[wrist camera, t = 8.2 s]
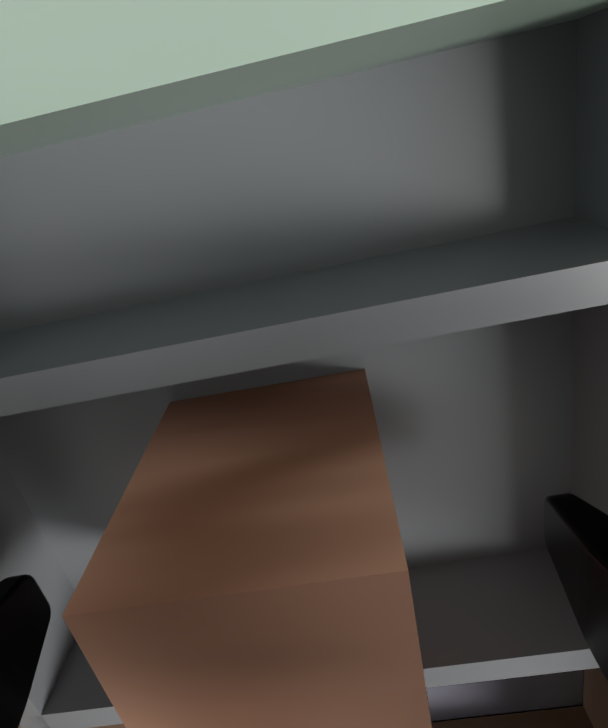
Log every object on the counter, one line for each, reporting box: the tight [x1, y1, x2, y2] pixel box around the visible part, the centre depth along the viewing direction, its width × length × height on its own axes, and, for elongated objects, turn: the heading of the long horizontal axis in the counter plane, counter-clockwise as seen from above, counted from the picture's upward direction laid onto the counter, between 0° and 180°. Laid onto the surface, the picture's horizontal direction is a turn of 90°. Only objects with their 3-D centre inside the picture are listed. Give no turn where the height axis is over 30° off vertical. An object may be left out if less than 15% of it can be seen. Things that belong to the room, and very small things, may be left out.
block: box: [62, 369, 432, 728], centre depth 9 cm, size 4×4×5 cm
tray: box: [0, 0, 608, 728], centre depth 9 cm, size 12×15×5 cm
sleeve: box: [18, 668, 608, 728], centre depth 12 cm, size 12×15×5 cm
